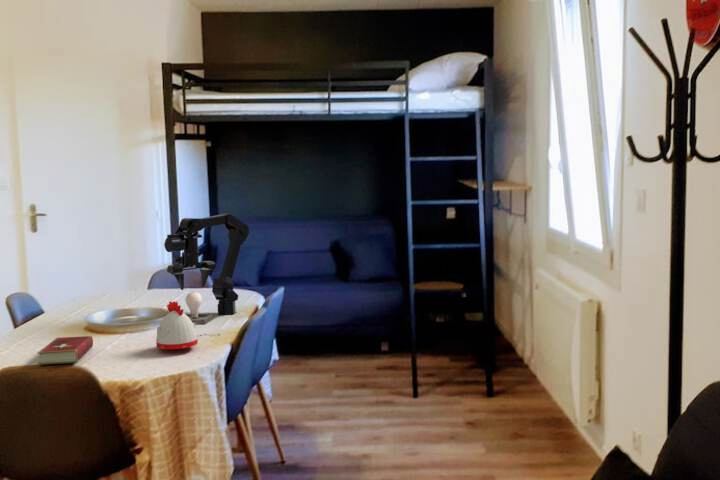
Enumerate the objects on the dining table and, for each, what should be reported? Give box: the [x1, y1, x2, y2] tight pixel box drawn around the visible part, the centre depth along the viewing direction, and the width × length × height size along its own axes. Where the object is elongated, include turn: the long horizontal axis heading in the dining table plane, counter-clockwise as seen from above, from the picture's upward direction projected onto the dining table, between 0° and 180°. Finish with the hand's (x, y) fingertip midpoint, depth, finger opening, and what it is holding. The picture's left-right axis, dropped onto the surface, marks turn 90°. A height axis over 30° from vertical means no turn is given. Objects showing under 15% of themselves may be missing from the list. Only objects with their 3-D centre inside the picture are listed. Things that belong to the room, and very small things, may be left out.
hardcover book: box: [37, 335, 94, 365], centre depth 244 cm, size 12×21×4 cm, turn 7°
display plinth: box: [185, 313, 218, 325], centre depth 293 cm, size 14×14×2 cm
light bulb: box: [185, 291, 203, 319], centre depth 292 cm, size 7×7×11 cm
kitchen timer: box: [155, 300, 198, 350], centre depth 253 cm, size 14×14×15 cm
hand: (192, 288), depth 292 cm, fingers open, 9 cm apart
